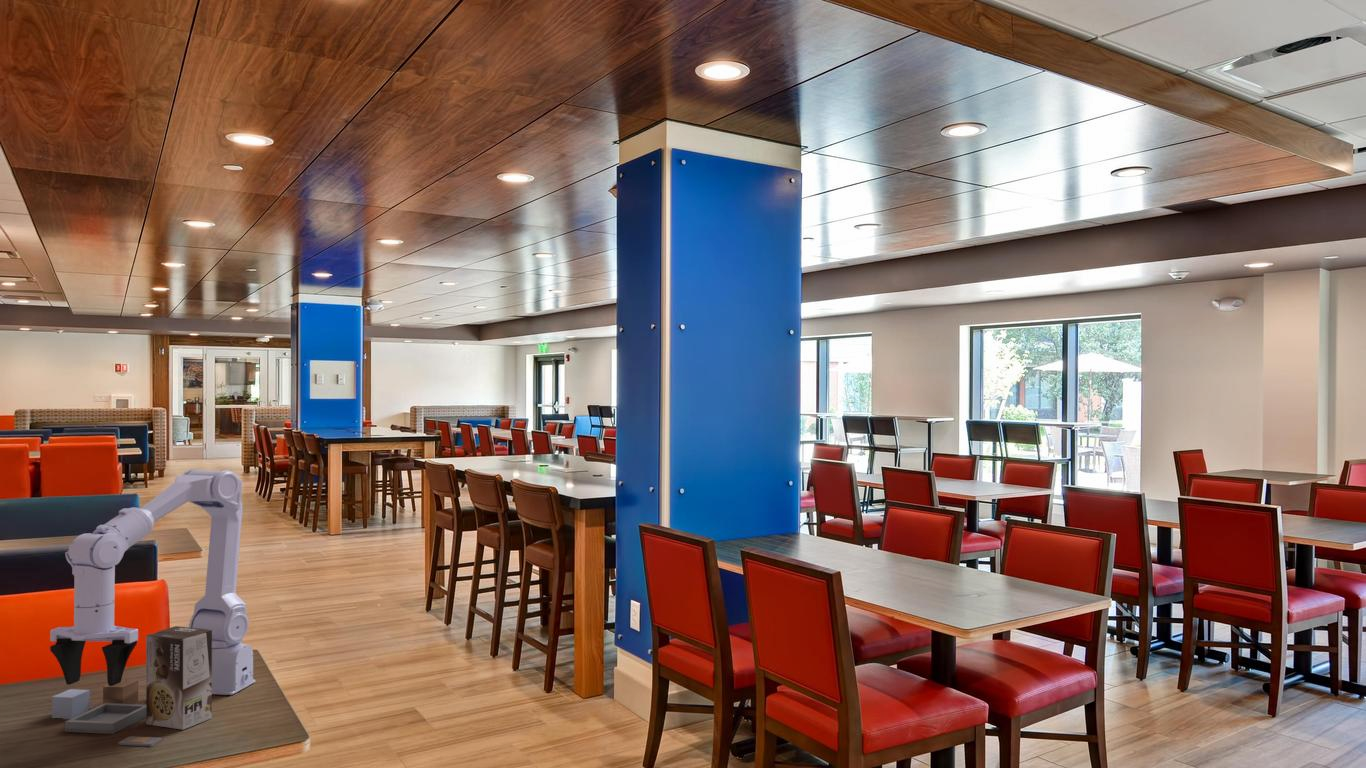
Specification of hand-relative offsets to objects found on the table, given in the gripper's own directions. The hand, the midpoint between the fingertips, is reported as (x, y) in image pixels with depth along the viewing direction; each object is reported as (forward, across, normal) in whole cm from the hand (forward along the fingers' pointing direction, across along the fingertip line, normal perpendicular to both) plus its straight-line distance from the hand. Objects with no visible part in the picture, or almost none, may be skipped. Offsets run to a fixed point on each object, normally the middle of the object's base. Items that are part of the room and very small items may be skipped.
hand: (93, 683), depth 146 cm
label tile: (+9, +9, -1) cm, 13 cm away
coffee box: (+10, +9, +9) cm, 16 cm away
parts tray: (+9, -3, +7) cm, 12 cm away
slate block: (+10, -13, +10) cm, 19 cm away
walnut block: (+10, -8, +16) cm, 20 cm away
